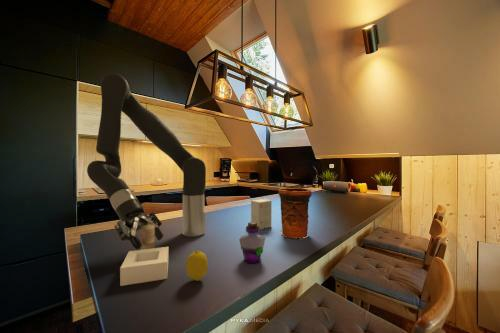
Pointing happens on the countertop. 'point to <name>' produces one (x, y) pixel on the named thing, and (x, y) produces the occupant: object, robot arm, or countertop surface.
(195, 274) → the lemon
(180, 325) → the countertop surface
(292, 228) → the vessel
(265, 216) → the small box
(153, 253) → the socket
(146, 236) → the peg
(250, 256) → the potion bottle
